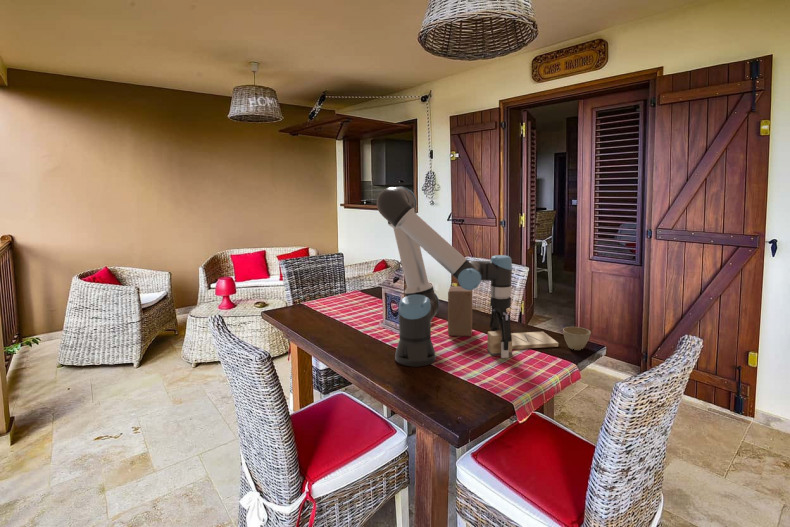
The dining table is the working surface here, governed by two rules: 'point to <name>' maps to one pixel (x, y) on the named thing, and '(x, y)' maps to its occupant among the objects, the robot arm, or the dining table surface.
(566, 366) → the dining table surface
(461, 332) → the wooden block
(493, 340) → the sanding block
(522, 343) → the board
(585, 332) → the flower pot
